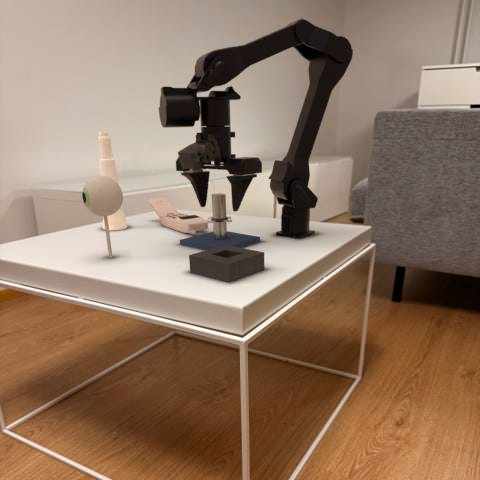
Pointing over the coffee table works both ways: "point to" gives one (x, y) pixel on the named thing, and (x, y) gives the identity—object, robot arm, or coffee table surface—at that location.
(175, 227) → the mobile phone
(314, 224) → the coffee table surface
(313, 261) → the coffee table surface
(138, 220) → the coffee table surface
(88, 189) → the eyeball on stick
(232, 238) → the mat
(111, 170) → the cosmetic bottle
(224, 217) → the bolted post stand
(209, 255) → the square hole block
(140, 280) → the coffee table surface
